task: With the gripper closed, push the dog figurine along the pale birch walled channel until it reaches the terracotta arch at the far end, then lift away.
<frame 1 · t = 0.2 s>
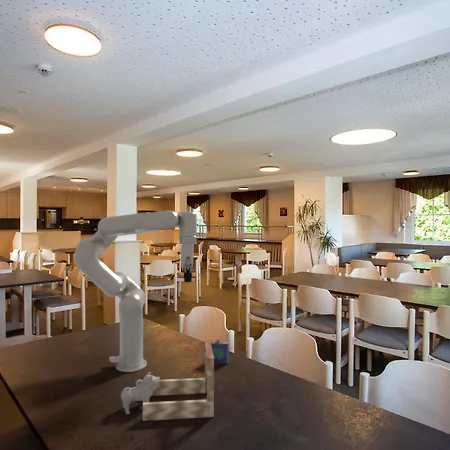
hand: (187, 279, 148), 37 cm above the table, tool pointing down, fingers open, 9 cm apart
flask: (218, 363, 151), on the table
dog figurine: (139, 407, 115), on the table
channel: (179, 404, 116), on the table
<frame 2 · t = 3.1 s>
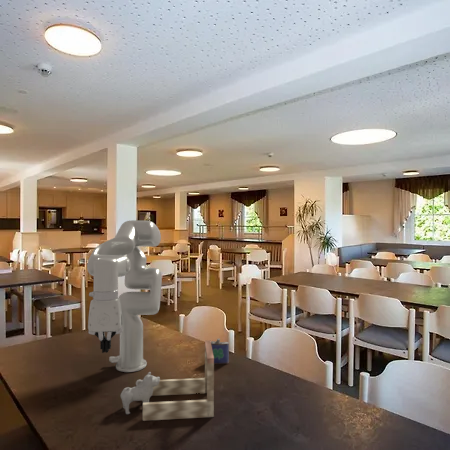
hand: (105, 351, 113), 19 cm above the table, tool pointing down, fingers closed
nothing on the table moved.
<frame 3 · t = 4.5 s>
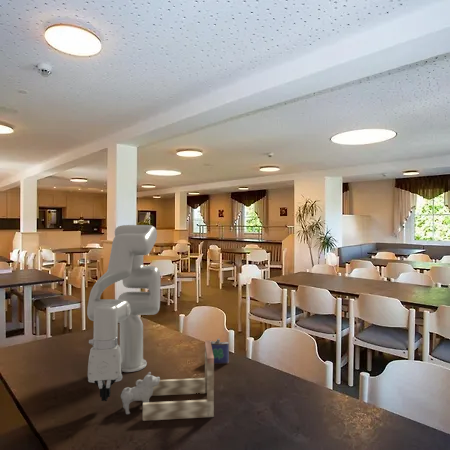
hand: (105, 398, 113), 4 cm above the table, tool pointing down, fingers closed
nothing on the table moved.
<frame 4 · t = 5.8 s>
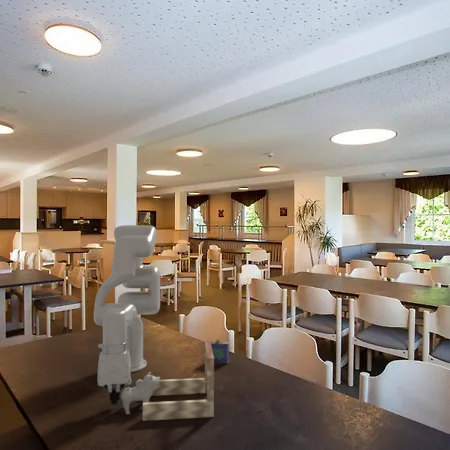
hand: (114, 402, 114), 2 cm above the table, tool pointing down, fingers closed
dog figurine: (139, 407, 115), on the table, touching gripper
everything else where it was.
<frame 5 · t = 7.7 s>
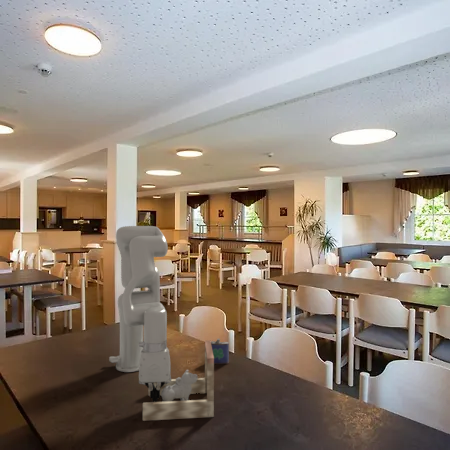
hand: (155, 400, 115), 2 cm above the table, tool pointing down, fingers closed
dog figurine: (179, 405, 116), on the table, touching gripper
everything else where it was.
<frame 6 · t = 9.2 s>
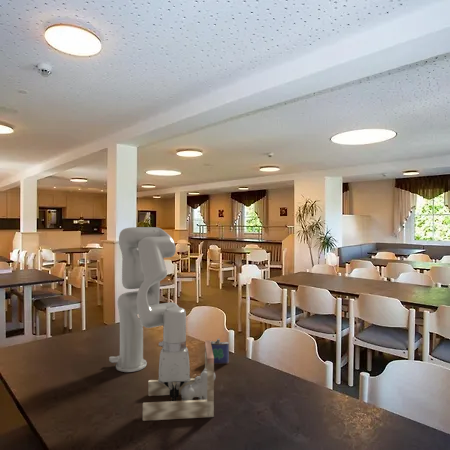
hand: (174, 399, 116), 2 cm above the table, tool pointing down, fingers closed
dog figurine: (197, 403, 117), on the table, touching gripper
everything else where it was.
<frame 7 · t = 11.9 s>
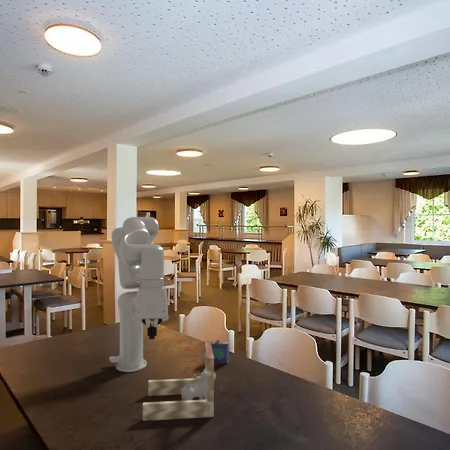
hand: (152, 338, 115), 23 cm above the table, tool pointing down, fingers closed
dog figurine: (198, 403, 117), on the table
everything else where it was.
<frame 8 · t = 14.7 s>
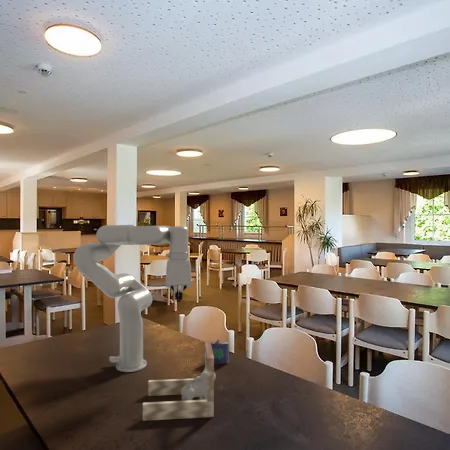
hand: (178, 301, 141), 29 cm above the table, tool pointing down, fingers closed
nothing on the table moved.
at the end: dog figurine inside the target area (0.6 cm from its centre), on the table; dog figurine tilted 0°; dog figurine moved 19.4 cm from its start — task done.
